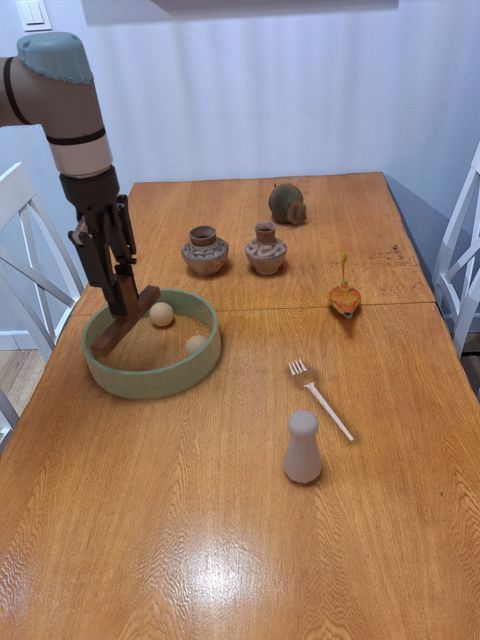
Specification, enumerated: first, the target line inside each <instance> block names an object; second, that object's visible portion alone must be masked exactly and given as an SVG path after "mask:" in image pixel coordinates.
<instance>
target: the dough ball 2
mask: <svg viewBox="0 0 480 640" xmlns="http://www.w3.org/2000/svg"><path fill="white" fill-rule="evenodd" d="M207 340H208V338H207V337H206V336H204V335H200V334H195V335H192V336H191V337H189V338H188V339H187V341H186V342H185V345H184V351H185V354H186V356H187V358H188V357H189V356H190V355H192V354H193V353H195V352H196V351H197V350H199V349H200V348H201V347H202V346H203V345H204V343H205V342H206V341H207Z"/></svg>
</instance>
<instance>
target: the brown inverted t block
mask: <svg viewBox="0 0 480 640" xmlns="http://www.w3.org/2000/svg"><path fill="white" fill-rule="evenodd" d="M113 274H114V280H117V281H119V284H120V288H121V291H122V295H123V298H124V302H125V305H126V309H127V312H128V314H127V315H126V316H119V315H112V317H113V319H115V320H114V321H113V322H112V323H111V324H110V325H109V327H108V328H107V329H106V330H105V331H104V332H103V333H102V334H101V335H100V336H99V337H98V338H97V339H96V340H95V341H94V342H93V343H92V344H91V346H90V348H91V351H92V354H93V355H94V356H95V357H98V358H102V359H107V357H108V356H109V355H110V354H111V353H112V352H113V351H114V349H115V348H116V347H117V346H118V345H119V343H120V342H121V341H122V340H123V339H124V338H126V336H127V335H128V334H129V332H130V331H131V330H132V329H133V328H134V327H135V326H136V325H137V324H138V323H139V321H140V320H141V319H143V318H142V317H143V315H144V314H145V313H146V312H147V311H148V310H149V309H150V308H151V306H152V305H153V304H154V303H155V302H156V301H157V300H158V299H159V297H160V296H161V293H160V289H159V288H160V286H156V285H151V284H147V285H146V286H145V287H144V289H142V290H143V291H142V290H141V291H142V292H141V293H140V294H139V300H138V301H137V297H136V294H135V290H134V287H133V283H132V280H131V276H127V275H122V274H116V272H113Z"/></svg>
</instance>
